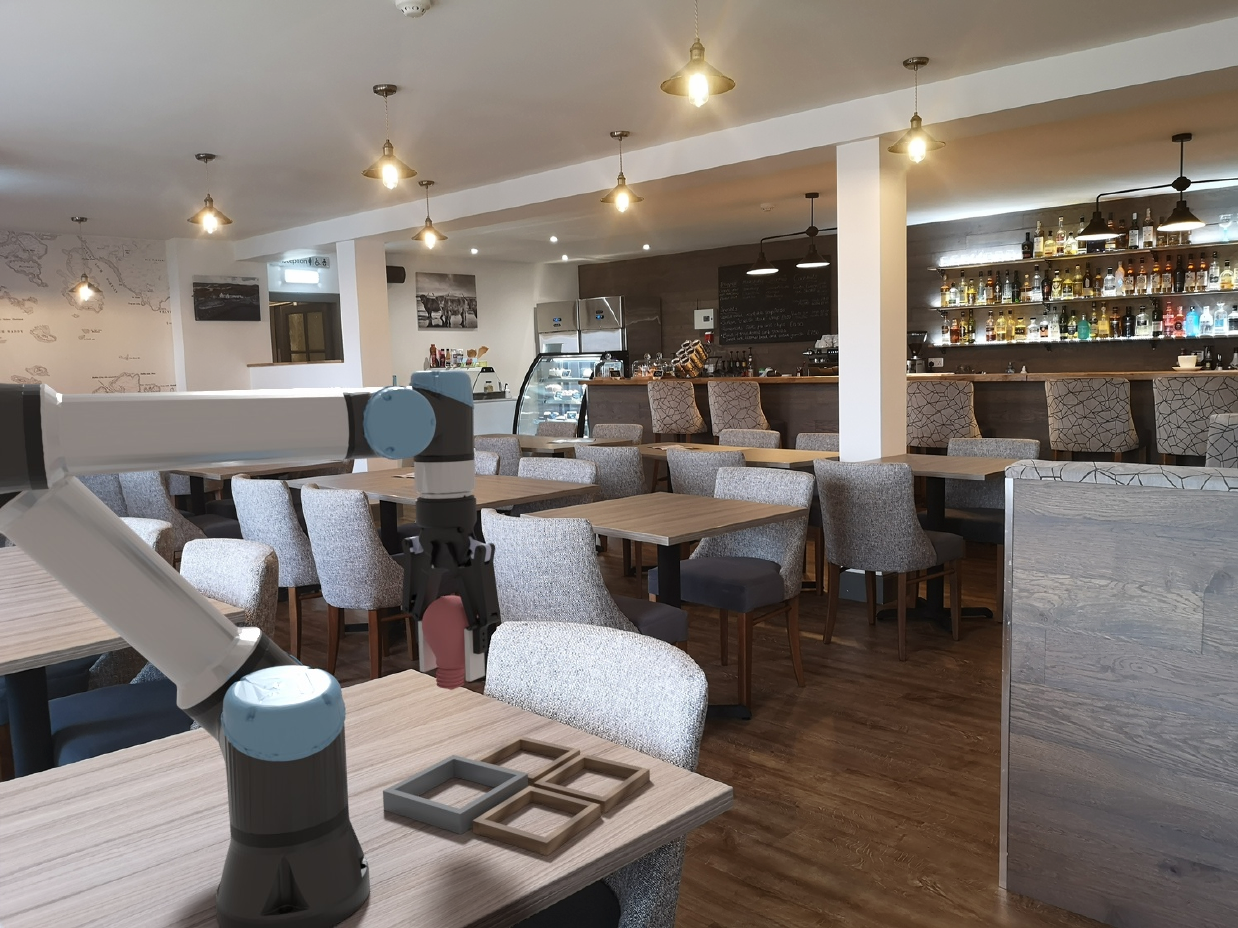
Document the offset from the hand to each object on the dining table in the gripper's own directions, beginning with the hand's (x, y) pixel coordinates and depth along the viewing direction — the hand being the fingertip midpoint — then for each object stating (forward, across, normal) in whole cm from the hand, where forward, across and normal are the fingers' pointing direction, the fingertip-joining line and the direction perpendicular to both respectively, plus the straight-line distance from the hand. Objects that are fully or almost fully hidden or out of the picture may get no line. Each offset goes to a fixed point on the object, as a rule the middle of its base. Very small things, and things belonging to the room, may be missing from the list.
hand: (452, 672), depth 118 cm
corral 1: (+17, 0, 0) cm, 17 cm away
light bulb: (+2, 0, 0) cm, 2 cm away
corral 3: (+17, -13, 0) cm, 21 cm away
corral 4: (+17, -13, -12) cm, 24 cm away
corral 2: (+17, -1, -13) cm, 21 cm away
